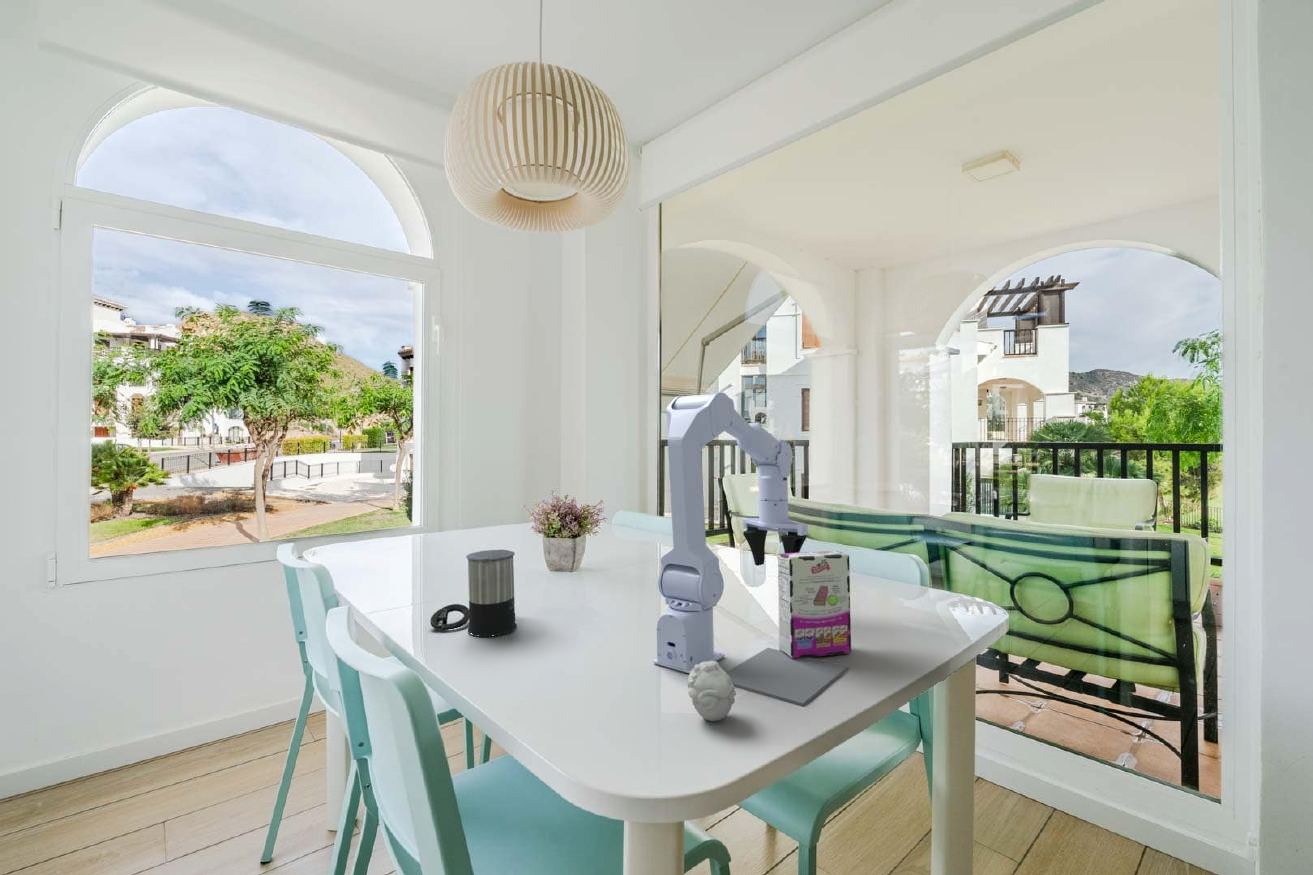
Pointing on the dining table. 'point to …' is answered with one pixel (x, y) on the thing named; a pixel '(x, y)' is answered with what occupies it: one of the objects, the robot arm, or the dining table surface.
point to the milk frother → (485, 596)
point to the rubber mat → (785, 676)
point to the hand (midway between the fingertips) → (774, 567)
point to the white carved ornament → (711, 690)
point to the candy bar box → (814, 603)
